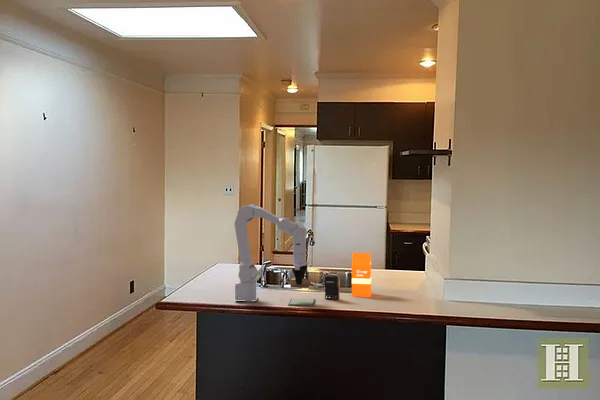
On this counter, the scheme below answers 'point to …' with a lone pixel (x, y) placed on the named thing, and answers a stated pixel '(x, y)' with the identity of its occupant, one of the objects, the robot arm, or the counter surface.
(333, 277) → the black upright block
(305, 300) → the mat
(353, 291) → the orange juice
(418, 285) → the counter surface
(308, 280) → the tan block
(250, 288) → the robot arm
